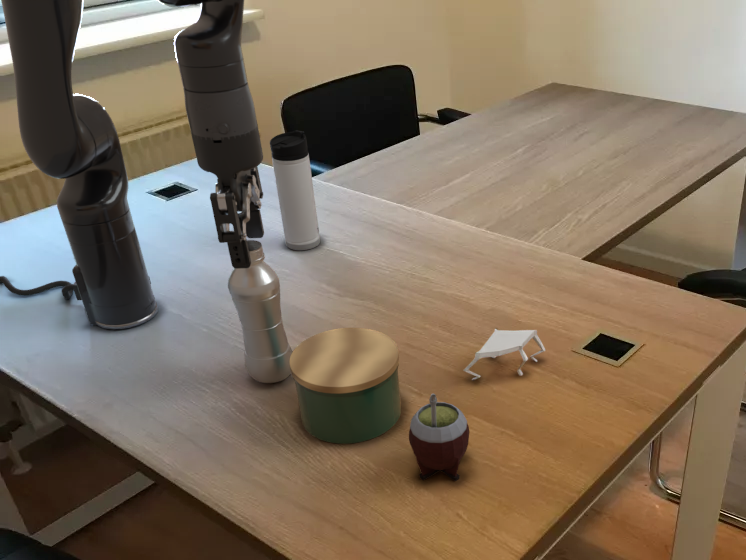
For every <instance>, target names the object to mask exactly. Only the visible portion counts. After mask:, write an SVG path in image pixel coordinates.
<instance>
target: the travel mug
mask: <svg viewBox="0 0 746 560" xmlns="http://www.w3.org/2000/svg"><path fill="white" fill-rule="evenodd" d="M269 146H270V148H269V149H270V153H271V160H272V161H271V162H272V168H273V175H274V179H275V186H276V192H277V198H278V205H279V210H280V211H279V212H280V217H281V224H282V229H283V236H284V242H285V246H286V247H287V248H288V249H290V250H293V251H308V250H312V249H314V248H316V247H318V246H319V245H320V243H321V235H320V227H319V220H318V212H317V205H316V198H315V190H314V183H313V176H312V167H311V161H310V154H309V150H308V141H307V136H306V132H305V131H302V130H298V129H296V130H293V131H288V132H283V133H279V134H277V135H274V136H273V137H271V139H270V140H269Z"/></svg>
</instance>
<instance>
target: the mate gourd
mask: <svg viewBox="0 0 746 560" xmlns="http://www.w3.org/2000/svg"><path fill="white" fill-rule="evenodd" d="M428 401H429V403H427V404H424V405H423V406H421V407H420V408H419V409H418V410H417V411H416V413H414V414H413V416H412V417H411V420H410V424H409V431H408V441H409V445H410V447H411V449H412V452H413V455H414V457H415V459H416V464H417V466H418V468H419V471H420V473H419V474H418V477H419V479H420V480H421V481H424V480H427V479H428V478H430V477H432V476H434V475H435V474H438V473H439V472H442V473H443V474H444V475H446V476H447V477H449V478H450V479H451V480H453V481H454V482H457V481H458V480H460V477H461V475H459V474H458V470H459V467H460V462H461V460H462V459H463V457H464V456H465V454H466V452H467V449H468V447H469V440H470V427H469V424H468V420H467V418H466V416H465V414H464V413H463V411H462V410H461V409H459V408H458V407H457V406H455V405H454V404H452V403H449V402H448V403H447V402H445V401H438V398H437V394H435V393H431V394H430V396H429V400H428Z"/></svg>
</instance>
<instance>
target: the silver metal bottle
mask: <svg viewBox="0 0 746 560" xmlns="http://www.w3.org/2000/svg"><path fill="white" fill-rule="evenodd" d="M247 243H248V248H249V253H250V258H251V265H250V267H249V268H239V269H236V268H234V267H233V269H232V270H231V272H230V274H229V277H228V279H227V289H228V292H229V295H230V298H231V300H232V302H233V305H234V308H235V310H236V311H237V316H238V320H239V322H240V327H241V330H242V336H243V345H244V351H243V352H244V353H243V356H244V358H243V359H244V366H245V369H246V371H247V373H248V375H249V376H250V377H251V378H252V379H253V380H255V381H256V382H259V383H263V384H273V383H278V382H281V381H284V380H286V379H287V378H289V376H291V375H292V374H291V370H290V364H289V360H290V356H291V354H292V352H293V349H292V347H291V345H290V343H289V341H288V337H287V334H286V330H285V326H284V323H283V315H282V307H281V306H282V305H281V281H280V278H279V276H278V275H277V273H276V271H275V270H274V269H273V268H272V267H271V265H269V264H268V263H267V262H266V261H265V259H266V255H265V252H264V249H263V244H262V243H261V241H259V240H255V239H247Z"/></svg>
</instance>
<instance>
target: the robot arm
mask: <svg viewBox="0 0 746 560" xmlns="http://www.w3.org/2000/svg"><path fill="white" fill-rule="evenodd" d="M0 1H1V6H2V11H3V12H2V13H3V16H4V22H5V28H6V33H7V40H8V45H9V50H10V53H11V54H10V55H11V61H12V67H13V75H14V85H15V95H16V96H15V97H16V108H17V119H18V120H17V121H18V128H19V134H20V140H21V142H22V146H23V148H24V150H25V152H26V154H27V156H28V158H29V159H30V161H31V162H32V164H34V166H35V167H36V168H37V169H38V170H39V171H40V172H42V173H43V174H44V175H46V176H48V177H50V178H54V179H58V180H59V179H60V180H63V179H64V182H63V185H62V187H61V189H60V191H59V194H58V195H57V198H56V207H57V211H58V214H59V218H60V220H61V223H62V227H63V229H64V232H65V235H66V238H67V241H68V244H69V246H70V250H71V253H72V256H73V259H74V262H75V265H74V266H73V268H72V271H71V273H72V275H73V277H74V278H73V279H74V282H73V283H72V282H69V281H67V280H56V281H52V282H48V283H45V284H43V285H41V286H37V287H34V288H30V289H29V288H28V289H19V288H17V287H15V286H14V285H13V284H12V283H11V282H10V280H9V279H8V278H7V276H5V275H0V284H3V286H4V287H5V288H6V289H7V290H8V291H9V292H10V293H12V294H14V295H17V296H20V297H21V296H22V297H26V296H27V297H28V296H34V295H37V294H41V293H43V292H47V291H50V290H52V289H56V288H59V287H62V289H61V294H62V296H63V298H64V299H65V300H70V299H71V297H72V295H73V293H74V295H75V298H76V300H77V301H81V303H82V305H83V308H84V311H85V314H86V317H87V320H88V323H89V326H98V327H100V328H102V329H106V330H125V329H130V328H134V327H138V326H140V325H142V324H145V323H146V322H148V321H150V320H151V319H153V318H154V317H155V316H156V315H157V314H158V311H159V308H158V307H159V306H158V303H157V301H156V298H155V295H154V291H153V288H152V282H151V278H150V276H149V274H148V270H147V266H146V262H145V259H144V255H143V251H142V248H141V244H140V240H139V236H138V234H137V231H136V227H135V222H134V220H133V215H132V213H131V208H130V204H129V201H128V193H129V192H128V191H129V177H128V173H127V169H126V165H125V159H124V155H123V149H122V145H121V142H120V139H119V133H118V131H117V128H116V126H115V124H114V121H113V119H112V117H111V115H110V114H109V113H108V111H107V110H106V109H105V107H103V106H102V105H101V103H99V101H97V100H95V99H94V98H92V97H90V96H86V95H83V94H79V93H75V94H74V90H73V82H72V68H73V61H74V56H75V50H76V49H75V48H76V46H77V42H78V36H79V33H80V28H81V23H82V18H83V10H84V0H0ZM156 1H158V2H159V3H160V4H162V5H165V6H167V7H170V8H177V9H178V8H185V7H190V6H194V5H195V6H196V5H200V9H199V10H200V11H199V16H198V18H197V20H195V22H194V23H192V24H190V25H188V26H187V27H185V28H184V29H182V30H181V31H179V32H178V33H177V34H176V35H175V36H174V39H173V40H174V42H173V45H174V52H175V58H176V61H177V66H178V70H179V74H180V78H181V84H182V88H183V96H184V108H185V112H186V117H187V118H186V119H187V123H188V126H189V131H190V135H191V140H192V144H193V148H194V152H195V158H196V162H197V165H198V167H199V168H200V169H201V170H202V171H204V172H206V173H211V174H213V175H214V176H215V177H216V181H217V182H216V183H215V191H214V192H210V194H209V200H210V204H211V208H212V214H213V219H214V224H215V229H216V233H217V240H218V243H219V244H225V243H226V244H227V249H228V254H229V258H230V262H231V266H232V268H233V269H234V268H236V269H239V268H249V267H250V265H251V258H250V253H249V248H248V243H247V240H248V239H262V238H263V237H264V235H265V229H264V224H263V219H262V214H261V208H262V205H263V204H262V201H261V200H262V199H263V197H264V191H263V188H262V183H261V177H260V173H259V168H258V167H259V165H261V164H262V162H263V160H264V153H263V148H262V141H261V136H260V130H259V124H258V119H257V114H256V108H255V103H254V99H253V95H252V93H251V89H250V86H249V82H248V76H247V70H246V64H245V60H244V59H245V58H244V54H243V49H242V38H243V26H244V9H245V0H156ZM230 225H232V229H233V230H230ZM247 238H248V239H247Z"/></svg>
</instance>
